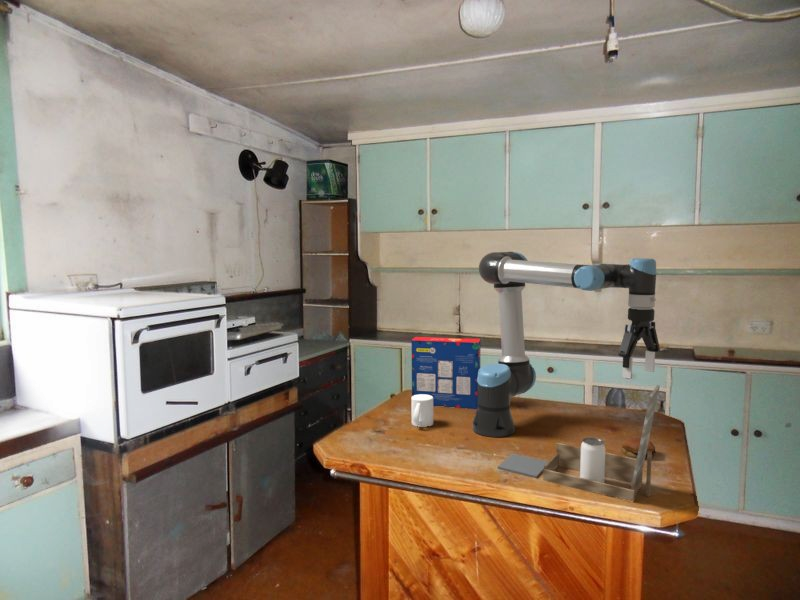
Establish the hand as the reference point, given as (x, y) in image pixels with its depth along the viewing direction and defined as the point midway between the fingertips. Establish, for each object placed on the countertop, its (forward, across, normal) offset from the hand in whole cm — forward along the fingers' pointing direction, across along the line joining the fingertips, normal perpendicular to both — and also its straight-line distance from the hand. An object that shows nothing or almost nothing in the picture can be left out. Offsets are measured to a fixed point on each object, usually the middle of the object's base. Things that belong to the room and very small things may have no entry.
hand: (638, 374), depth 165 cm
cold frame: (+26, -29, -5) cm, 39 cm away
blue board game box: (+26, -12, +77) cm, 83 cm away
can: (+26, -29, -3) cm, 39 cm away
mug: (+26, -37, +64) cm, 78 cm away
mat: (+26, -36, +16) cm, 47 cm away
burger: (+26, 0, -1) cm, 26 cm away
